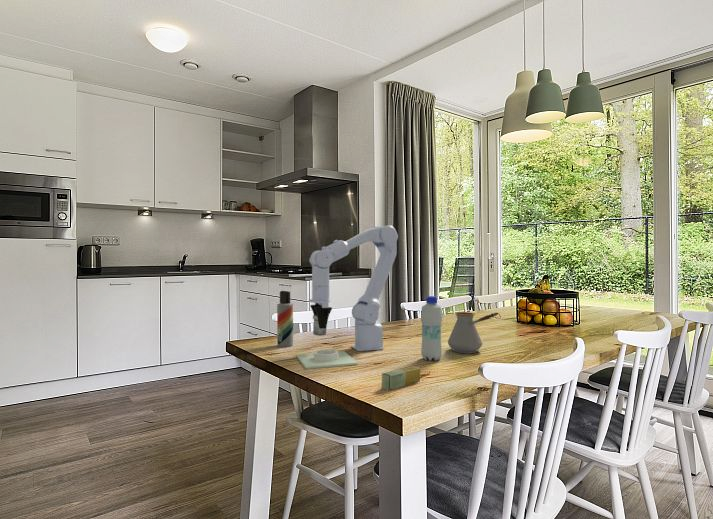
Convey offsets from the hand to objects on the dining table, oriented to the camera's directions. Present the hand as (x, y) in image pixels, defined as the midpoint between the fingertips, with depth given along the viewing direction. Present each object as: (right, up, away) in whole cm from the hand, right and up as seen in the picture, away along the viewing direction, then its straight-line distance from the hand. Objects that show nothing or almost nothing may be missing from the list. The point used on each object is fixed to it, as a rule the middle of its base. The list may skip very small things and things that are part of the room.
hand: (320, 326), depth 146 cm
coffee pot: (+51, -9, -1) cm, 52 cm away
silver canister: (-1, -2, +1) cm, 2 cm away
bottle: (+36, -9, -8) cm, 38 cm away
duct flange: (+2, -9, -9) cm, 13 cm away
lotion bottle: (-14, -9, +13) cm, 21 cm away
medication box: (+23, -10, -34) cm, 43 cm away
